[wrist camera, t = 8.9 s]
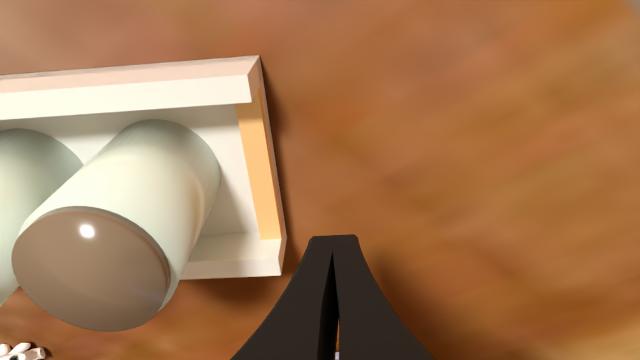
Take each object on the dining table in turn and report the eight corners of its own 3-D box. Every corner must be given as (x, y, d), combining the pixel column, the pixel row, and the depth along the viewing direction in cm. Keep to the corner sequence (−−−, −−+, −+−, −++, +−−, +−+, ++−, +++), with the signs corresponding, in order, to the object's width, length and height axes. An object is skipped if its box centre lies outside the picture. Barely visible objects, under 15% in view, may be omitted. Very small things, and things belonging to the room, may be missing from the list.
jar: (132, 223, 21) (51, 342, 15) (90, 128, 19) (-29, 222, 12) (233, 211, 20) (191, 328, 14) (202, 111, 18) (136, 201, 12)
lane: (287, 237, 22) (274, 312, 18) (-97, 256, 24) (-195, 329, 19) (259, 55, 18) (234, 95, 13) (-213, 91, 19) (-375, 138, 15)
